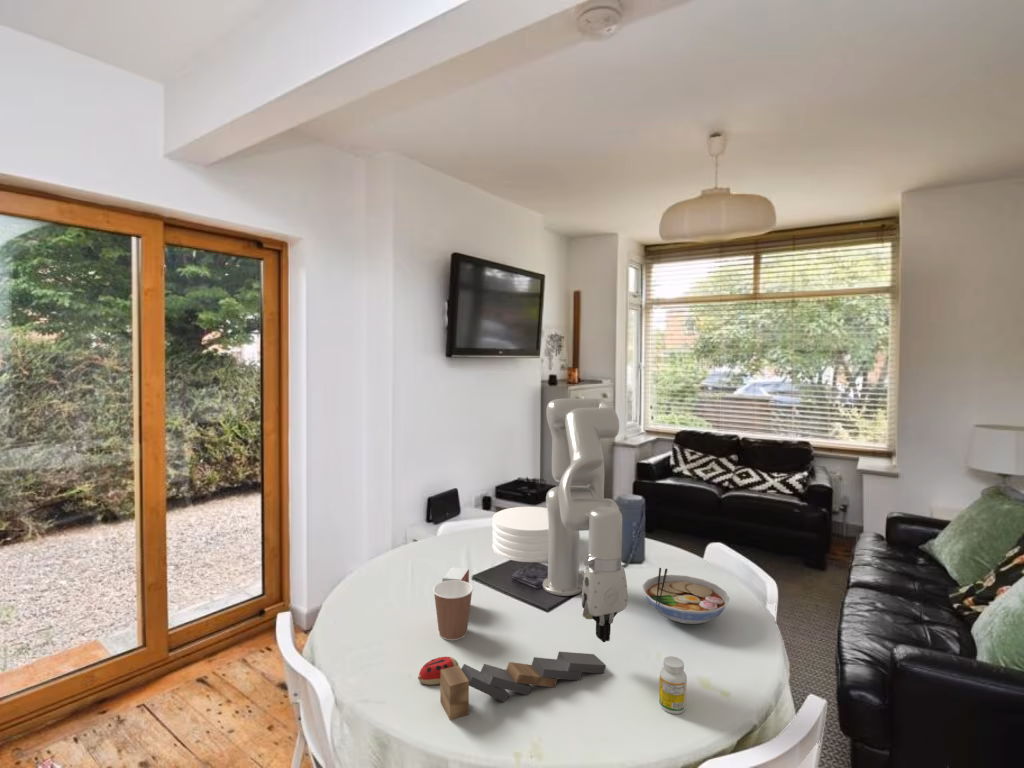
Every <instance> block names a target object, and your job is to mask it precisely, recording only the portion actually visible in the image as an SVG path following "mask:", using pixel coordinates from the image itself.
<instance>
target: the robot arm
mask: <svg viewBox="0 0 1024 768" xmlns="http://www.w3.org/2000/svg"><path fill="white" fill-rule="evenodd" d="M545 413H546V414H545V415H546V419H547V420H546V421H547V425H548V427H549V430H550V434H551V441H552V444H551V476H552V479H553V480H554V481H555V482H557V483H559V485H558V486H554V487H552V488H550V489H549V490H548V491H547V492H546V496H545V504H546V508H547V512H548V525H549V534H548V561H547V578H545V579H544V580H543V581H542V587H543V589H544V591H545V592H547V593H549V594H552V595H555V596H562V597H564V596H565V597H569V596H576V595H577V594H580V593H581V607H582V608H583V612H582V617H583V618H584V619H586V620H594V621H595V635H596V638H598V639H599V640H600V641H601V642H602V643H606V642H610V641H611V640H610V639H611V629H612V628H611V625H612V624H613V623H614V618H615V617H616V615H617V614H619V613H621V612H623V611H624V610H625V609H627V607H628V583H627V582H628V581H627V576H626V571H625V566H623V565H622V552H623V551H622V547H623V546H622V544H623V543H622V541H623V515H622V512H621V511H620V507H619V505H618V504H617V503H616V501H614V499H612V498H605V497H604V496H605V464H604V463H605V462H604V453H603V449H602V448H603V447H602V444H601V443H602V442H601V439H602V440H603V439H605V440H606V439H615V438H616V437H617V436H618V434H619V431H620V420H619V417H618V414H617V412H616V411H615V409H614V408H613V407H612V406H611V405H610V404H609V403H608V402H607V401H606V400H604V399H602V398H574V397H573V398H572V397H571V398H569V397H568V398H556V399H552V400H550V401H549V402H548V404H547V405H546V412H545ZM576 483H577V484H587V485H572V484H576ZM580 531H588V555H587V559H585V560H584V561H583V565H584V566H585V567H586V568H585V571H584V570H583V569H582V570H580Z"/></svg>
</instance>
